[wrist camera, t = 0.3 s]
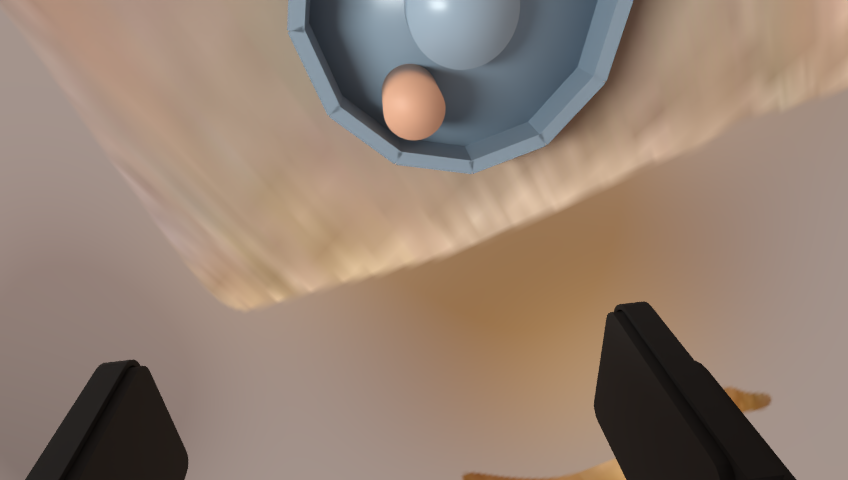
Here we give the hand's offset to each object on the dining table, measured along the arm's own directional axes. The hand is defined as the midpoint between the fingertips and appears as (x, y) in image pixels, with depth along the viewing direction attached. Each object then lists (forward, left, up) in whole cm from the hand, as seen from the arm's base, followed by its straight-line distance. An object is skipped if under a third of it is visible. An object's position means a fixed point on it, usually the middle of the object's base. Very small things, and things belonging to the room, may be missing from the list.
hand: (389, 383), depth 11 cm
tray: (-7, +2, -30) cm, 31 cm away
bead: (-1, +3, -29) cm, 29 cm away
